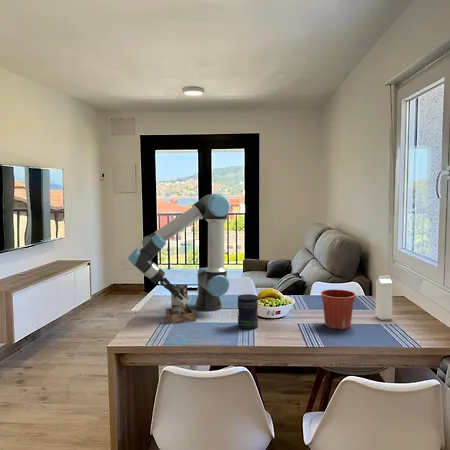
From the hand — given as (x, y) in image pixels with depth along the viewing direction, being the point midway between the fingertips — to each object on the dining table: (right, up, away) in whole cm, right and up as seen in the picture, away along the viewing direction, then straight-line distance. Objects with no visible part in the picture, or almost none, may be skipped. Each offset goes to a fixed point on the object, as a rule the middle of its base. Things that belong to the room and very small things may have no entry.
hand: (184, 299), depth 218 cm
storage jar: (+32, -11, -15) cm, 37 cm away
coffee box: (-2, -9, 0) cm, 9 cm away
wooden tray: (-2, -10, 0) cm, 10 cm away
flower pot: (+76, -10, -15) cm, 78 cm away
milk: (+103, -9, -3) cm, 103 cm away
